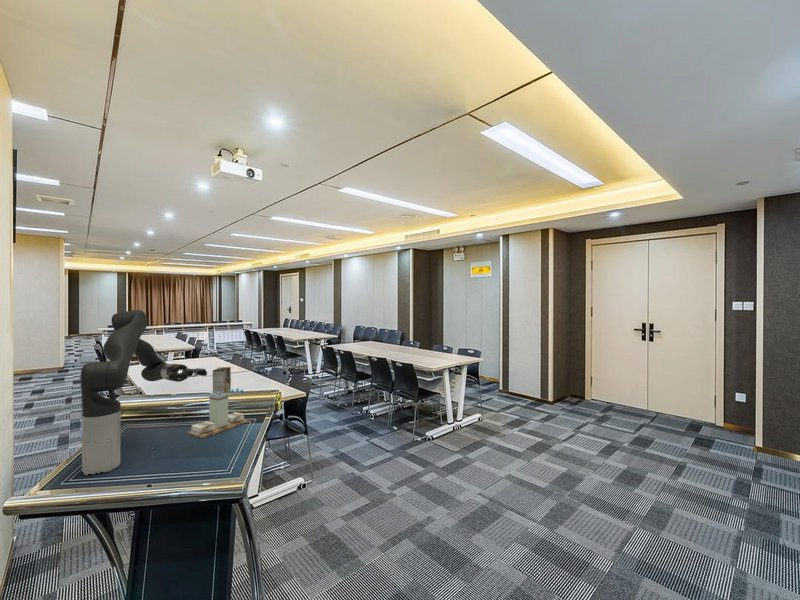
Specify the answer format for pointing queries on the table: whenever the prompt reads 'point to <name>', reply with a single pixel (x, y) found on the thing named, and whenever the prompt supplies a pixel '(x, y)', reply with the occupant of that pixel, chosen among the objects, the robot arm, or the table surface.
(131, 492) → the table surface
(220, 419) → the block
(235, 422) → the rail board
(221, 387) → the coffee box
